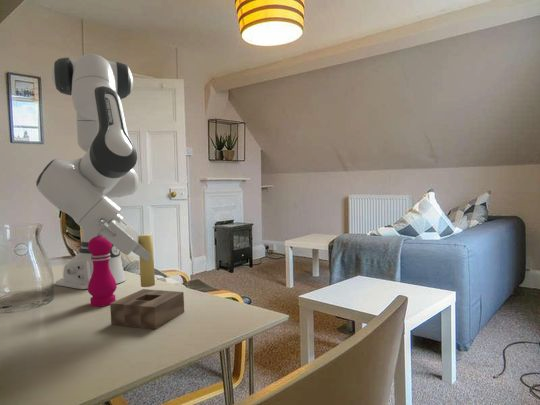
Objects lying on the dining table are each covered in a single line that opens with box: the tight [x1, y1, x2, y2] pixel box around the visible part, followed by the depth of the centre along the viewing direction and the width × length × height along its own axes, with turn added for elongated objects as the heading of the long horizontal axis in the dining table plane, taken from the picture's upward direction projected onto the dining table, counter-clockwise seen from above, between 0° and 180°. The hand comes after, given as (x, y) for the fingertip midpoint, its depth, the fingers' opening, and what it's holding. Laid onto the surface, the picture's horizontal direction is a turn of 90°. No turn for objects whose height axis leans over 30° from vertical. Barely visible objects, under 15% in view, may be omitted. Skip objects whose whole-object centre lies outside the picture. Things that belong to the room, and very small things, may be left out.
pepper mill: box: [87, 234, 117, 308], centre depth 106 cm, size 7×7×20 cm
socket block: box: [109, 288, 185, 330], centre depth 94 cm, size 12×12×5 cm
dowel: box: [138, 233, 156, 288], centre depth 93 cm, size 3×3×12 cm
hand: (149, 256), depth 93 cm, fingers closed on dowel, 3 cm apart
